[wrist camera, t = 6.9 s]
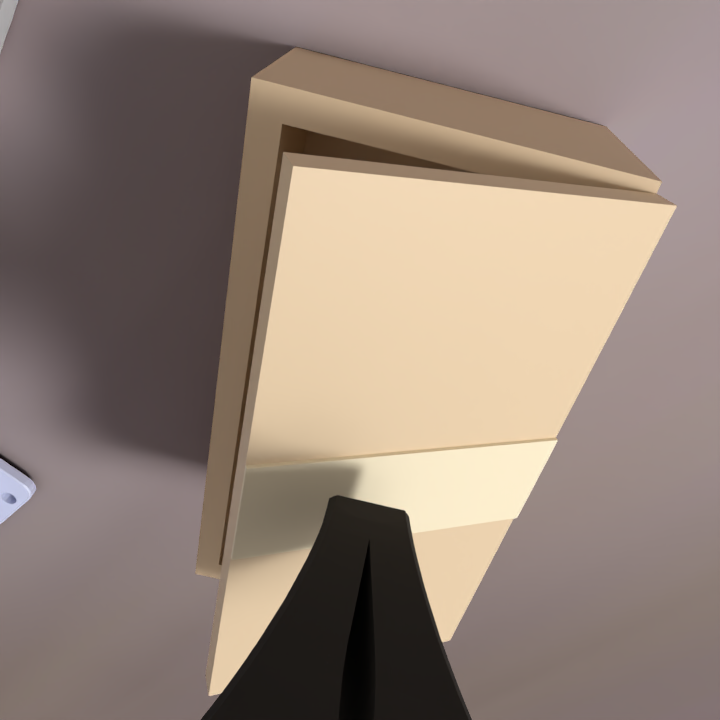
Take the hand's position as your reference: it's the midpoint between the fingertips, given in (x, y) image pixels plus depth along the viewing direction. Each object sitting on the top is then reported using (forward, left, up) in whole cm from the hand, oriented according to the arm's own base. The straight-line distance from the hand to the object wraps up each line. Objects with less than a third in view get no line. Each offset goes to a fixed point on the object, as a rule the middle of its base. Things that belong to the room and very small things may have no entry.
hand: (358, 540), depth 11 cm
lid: (0, 0, -2) cm, 2 cm away
